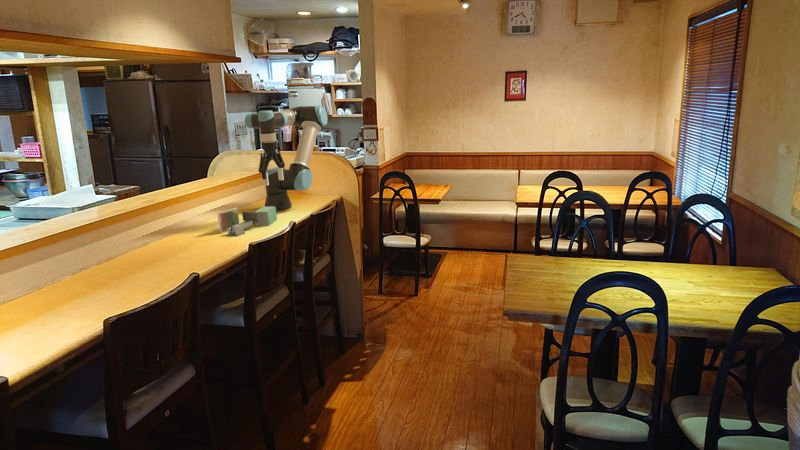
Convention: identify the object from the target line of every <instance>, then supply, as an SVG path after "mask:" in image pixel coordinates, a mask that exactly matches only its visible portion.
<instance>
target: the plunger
mask: <svg viewBox="0 0 800 450" xmlns="http://www.w3.org/2000/svg"><path fill="white" fill-rule="evenodd" d="M238 214H242V222H239V224H236V225H233V226H232V231H235V229H236V228H239V227H243V230H244V229H247V228H249V227H250V226H255V222H259V221H260V217H259V212H255V211H244V210H243V211H238Z"/></svg>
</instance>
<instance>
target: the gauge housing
mask: <svg viewBox="0 0 800 450" xmlns="http://www.w3.org/2000/svg"><path fill="white" fill-rule="evenodd" d="M238 210H239V209H238V206H235V207H232V208H229V209H225V210H222V211H220V212H219V211H218V212H217V220H218V228H219V229H218V230H219V234H221V235H222V234H224V233H227V234H226V236H229V237H231V236H232V237H240V236H242V235H244V234H246V232H244V229H243V227H239V228H236V229H235V231H232V226H233V225H236V224H239V223H240V218H239V213H238V212H239V211H238Z"/></svg>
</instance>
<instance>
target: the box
mask: <svg viewBox="0 0 800 450" xmlns="http://www.w3.org/2000/svg"><path fill="white" fill-rule="evenodd" d="M254 212H259V217H260V221H259V222H255V224H254V226H255V227H269V226H270V225H272V224H273V223H274V222H275V221H277V219H278V218H277V217H278V216H277V210H276V207H275V206H269V207H265V206H261V207H260V208H259V209H257V210H254Z"/></svg>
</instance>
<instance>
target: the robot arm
mask: <svg viewBox="0 0 800 450" xmlns="http://www.w3.org/2000/svg"><path fill="white" fill-rule="evenodd" d="M328 119H329V118H328V113H327V110H326V109H325V108H324V106H322V105H313V106H312V105H307V106H295V107H291V108H285V109H283V110H282V111H281V110H280V111H273V110H269V109H268V110H260V111H258V113H248V114H246V115H245V116H244V123H245V126H246V128H248V129H259V132H260V142H261V149H262V151H264V152H260V159H259V164H258V165H259V166H258V173H259V174H261V177H262V182H263V186H265V192H266V198H265V203H264V207H269V206H275V207H276V211H283V210H288V209H290V208H292V206H293V205H292V204H293V203H292V201H291V199H290V196H289V194H288V191H299V192H300V191H306V190H308V189H309V188H310V187H311V185H312V183H313V174H312V172H311V168H310V167H309V166H310V162H311V158H312V155H313V150H314V147H315V143H316V140H317V136H318V134H319V132H321V131H322V127H325V126H327V124H328ZM286 126H287V127H288V126H289V127H291V126H293V127H301V128H302V131H301V134H300V138H299V142H298V145H297V150H296V153H295V156H294V160H293V162H292V163H290V164H289V168H287V169H286V167H285V166H286V164H285V162H284V161H285V160H284V159H283V156H282V154H281V150H280V149H278V142H277V133H276V129H279V128H280V129H281V128H283V127H286ZM272 161H274V163H275V164H276V166H277V167H271V168H269V165H270V163H271V162H272Z"/></svg>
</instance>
